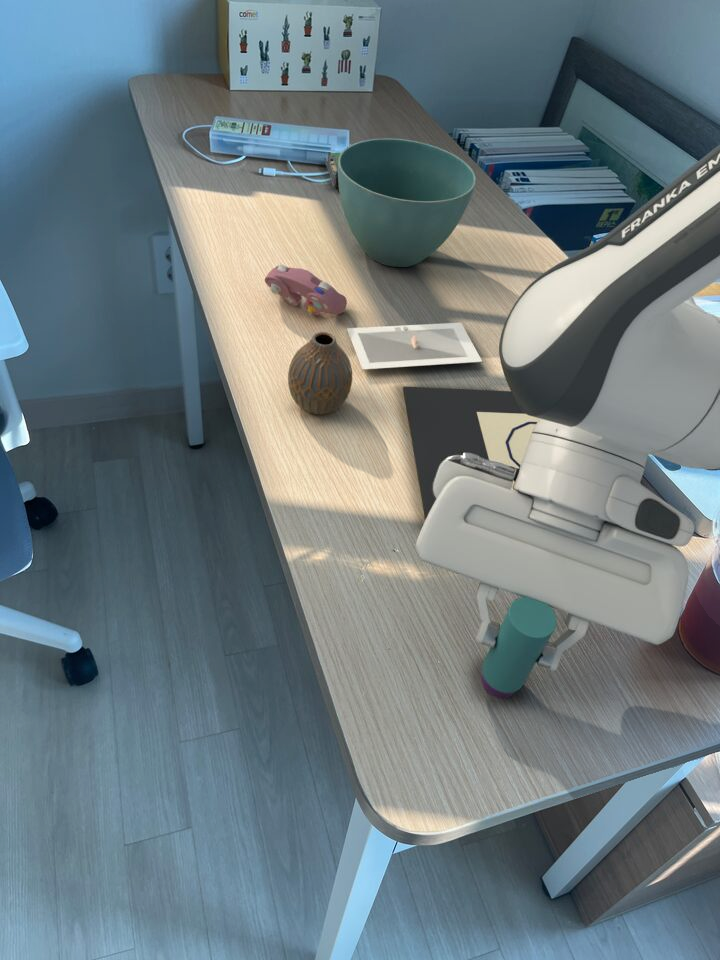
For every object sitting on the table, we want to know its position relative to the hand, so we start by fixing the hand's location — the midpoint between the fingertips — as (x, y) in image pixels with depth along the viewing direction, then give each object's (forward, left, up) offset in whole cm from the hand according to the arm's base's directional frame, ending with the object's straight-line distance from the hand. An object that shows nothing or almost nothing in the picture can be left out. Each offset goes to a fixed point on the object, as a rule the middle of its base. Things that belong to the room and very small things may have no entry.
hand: (514, 655), depth 59 cm
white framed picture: (+2, -45, -6) cm, 45 cm away
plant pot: (+2, -68, -6) cm, 68 cm away
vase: (+14, -35, -6) cm, 38 cm away
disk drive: (+3, -91, -6) cm, 91 cm away
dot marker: (0, -1, -5) cm, 5 cm away
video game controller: (+15, -53, -6) cm, 55 cm away
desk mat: (-8, -28, -5) cm, 29 cm away
